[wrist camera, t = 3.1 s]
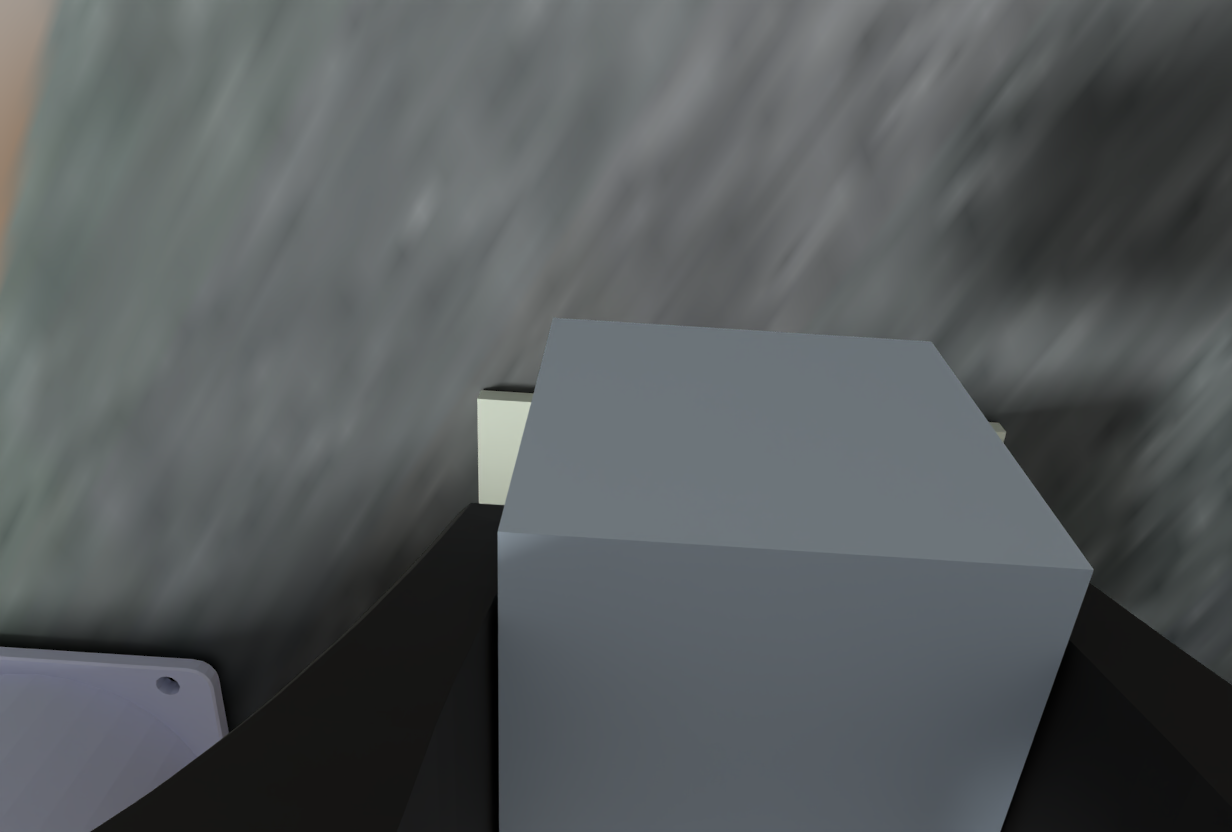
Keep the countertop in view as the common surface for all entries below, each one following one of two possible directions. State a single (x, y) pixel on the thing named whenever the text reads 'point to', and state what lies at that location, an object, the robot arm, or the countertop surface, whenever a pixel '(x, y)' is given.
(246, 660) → the countertop surface
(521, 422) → the plate
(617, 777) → the blue block
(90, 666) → the robot arm
